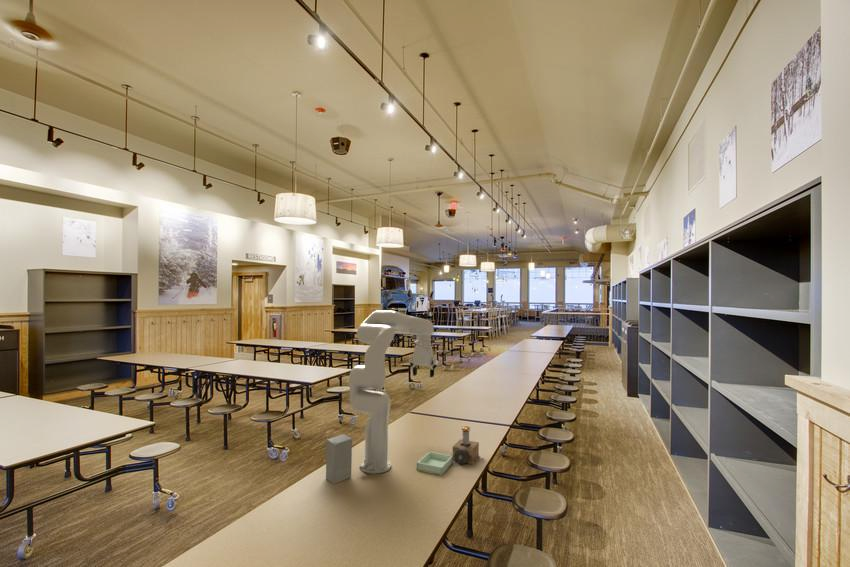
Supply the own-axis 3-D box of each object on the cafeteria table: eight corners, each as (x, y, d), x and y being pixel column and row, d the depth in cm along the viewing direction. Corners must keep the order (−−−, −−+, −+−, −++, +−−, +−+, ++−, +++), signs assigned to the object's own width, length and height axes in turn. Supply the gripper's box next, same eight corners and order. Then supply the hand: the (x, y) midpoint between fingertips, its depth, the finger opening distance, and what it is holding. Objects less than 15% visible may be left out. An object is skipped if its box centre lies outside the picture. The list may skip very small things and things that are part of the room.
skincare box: (342, 472, 157) (343, 433, 158) (352, 478, 152) (353, 437, 152) (324, 479, 151) (325, 438, 152) (334, 485, 146) (334, 442, 146)
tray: (441, 475, 155) (441, 467, 155) (416, 469, 160) (416, 462, 160) (452, 462, 167) (452, 455, 167) (429, 458, 172) (429, 451, 172)
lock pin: (468, 460, 170) (468, 429, 171) (460, 458, 172) (460, 428, 172) (470, 457, 173) (470, 426, 174) (463, 455, 175) (463, 425, 175)
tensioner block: (470, 466, 164) (470, 452, 164) (450, 462, 167) (450, 448, 168) (478, 455, 175) (478, 442, 175) (459, 452, 179) (460, 439, 179)
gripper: (405, 343, 204) (405, 375, 203) (436, 345, 197) (435, 378, 196) (412, 342, 210) (411, 373, 210) (441, 343, 204) (441, 376, 203)
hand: (423, 376), depth 203 cm, fingers open, 9 cm apart
